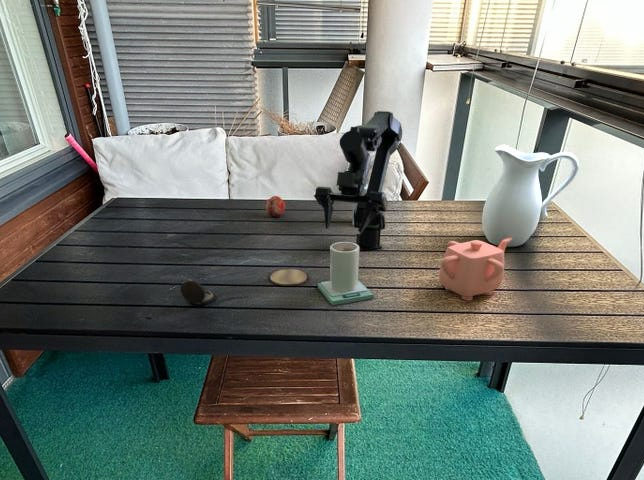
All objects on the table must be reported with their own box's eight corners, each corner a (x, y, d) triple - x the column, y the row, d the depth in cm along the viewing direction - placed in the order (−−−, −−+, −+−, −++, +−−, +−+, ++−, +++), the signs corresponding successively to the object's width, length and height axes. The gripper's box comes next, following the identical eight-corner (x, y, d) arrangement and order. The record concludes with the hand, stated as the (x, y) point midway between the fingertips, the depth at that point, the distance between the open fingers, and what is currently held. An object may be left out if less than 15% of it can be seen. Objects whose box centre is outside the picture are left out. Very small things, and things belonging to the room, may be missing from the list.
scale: (356, 281, 131) (356, 276, 130) (373, 298, 122) (373, 292, 121) (317, 287, 128) (317, 282, 127) (332, 305, 119) (332, 299, 118)
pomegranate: (271, 218, 184) (256, 207, 176) (279, 200, 184) (265, 188, 175) (285, 224, 181) (271, 213, 172) (294, 206, 180) (280, 194, 172)
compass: (218, 295, 124) (214, 269, 120) (205, 309, 118) (201, 282, 114) (189, 292, 126) (185, 266, 122) (175, 306, 119) (170, 279, 115)
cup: (351, 278, 129) (352, 240, 123) (362, 289, 123) (364, 249, 117) (325, 282, 127) (326, 243, 121) (335, 293, 121) (336, 253, 115)
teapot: (435, 300, 121) (442, 249, 114) (439, 275, 134) (446, 228, 127) (505, 307, 118) (517, 256, 110) (502, 281, 130) (513, 233, 123)
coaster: (300, 268, 138) (300, 267, 138) (311, 282, 130) (311, 280, 130) (266, 273, 136) (266, 272, 135) (275, 288, 128) (275, 286, 127)
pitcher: (474, 246, 152) (491, 151, 137) (481, 229, 165) (497, 141, 150) (556, 256, 145) (584, 157, 129) (556, 238, 158) (582, 146, 142)
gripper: (314, 154, 122) (300, 212, 120) (387, 159, 116) (373, 220, 115) (326, 176, 132) (313, 230, 131) (393, 182, 127) (380, 238, 125)
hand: (343, 229), depth 125 cm, fingers open, 9 cm apart
